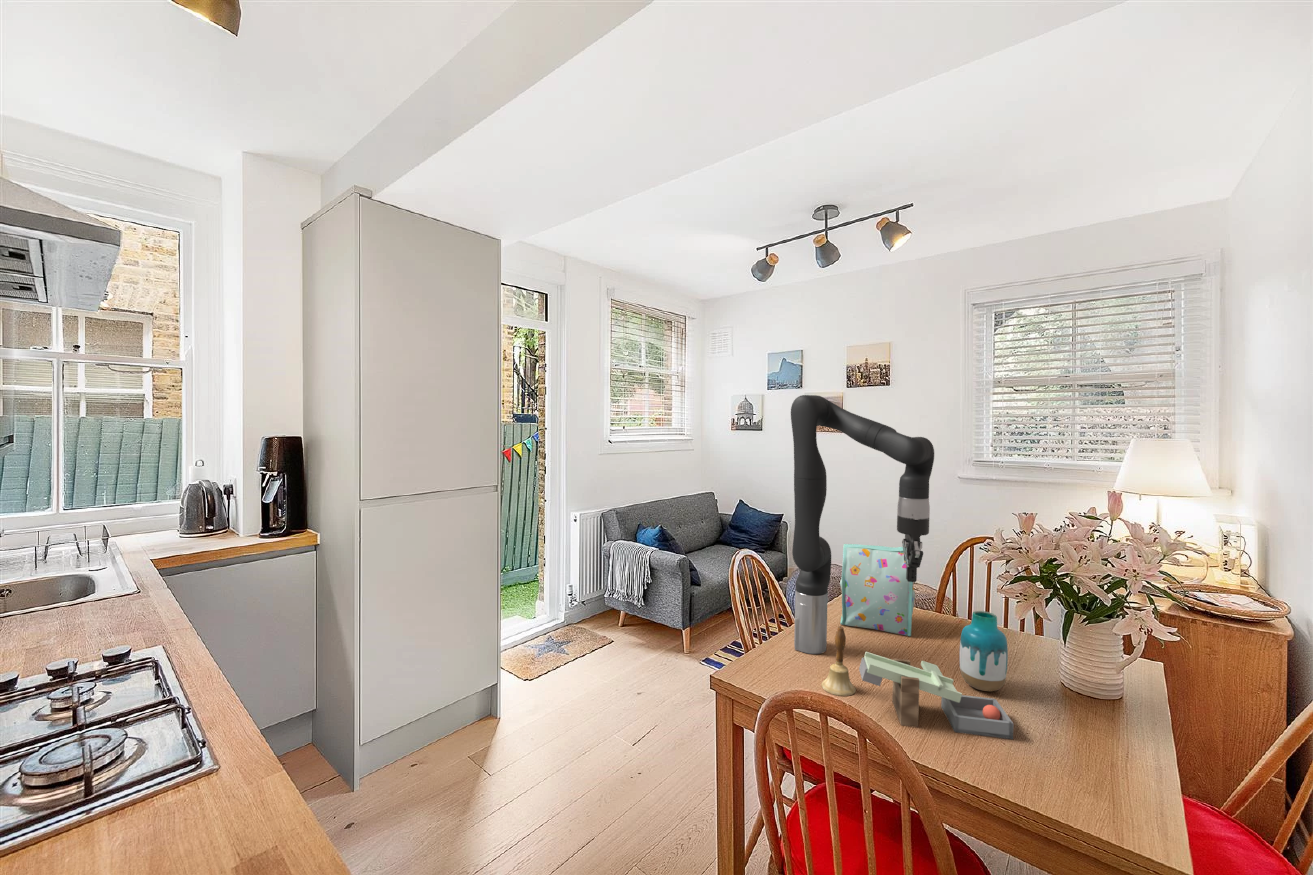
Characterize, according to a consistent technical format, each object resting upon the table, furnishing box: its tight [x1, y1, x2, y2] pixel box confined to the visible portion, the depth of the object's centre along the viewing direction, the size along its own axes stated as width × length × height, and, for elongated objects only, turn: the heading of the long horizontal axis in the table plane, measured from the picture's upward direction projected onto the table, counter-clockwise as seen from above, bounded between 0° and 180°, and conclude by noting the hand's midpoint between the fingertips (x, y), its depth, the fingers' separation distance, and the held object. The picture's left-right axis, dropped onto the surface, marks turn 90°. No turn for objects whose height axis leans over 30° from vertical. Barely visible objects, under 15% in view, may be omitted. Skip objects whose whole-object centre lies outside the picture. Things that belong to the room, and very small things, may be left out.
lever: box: [858, 651, 963, 703], centre depth 133 cm, size 20×16×5 cm
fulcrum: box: [891, 658, 920, 728], centre depth 129 cm, size 4×10×11 cm, turn 167°
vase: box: [959, 610, 1009, 692], centre depth 141 cm, size 11×11×19 cm
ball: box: [983, 705, 1001, 720], centre depth 125 cm, size 4×4×4 cm
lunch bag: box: [839, 543, 916, 637], centre depth 183 cm, size 23×16×27 cm
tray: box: [940, 694, 1015, 740], centre depth 126 cm, size 12×11×4 cm
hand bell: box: [821, 626, 856, 697], centre depth 141 cm, size 8×8×16 cm
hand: (911, 581), depth 143 cm, fingers closed
